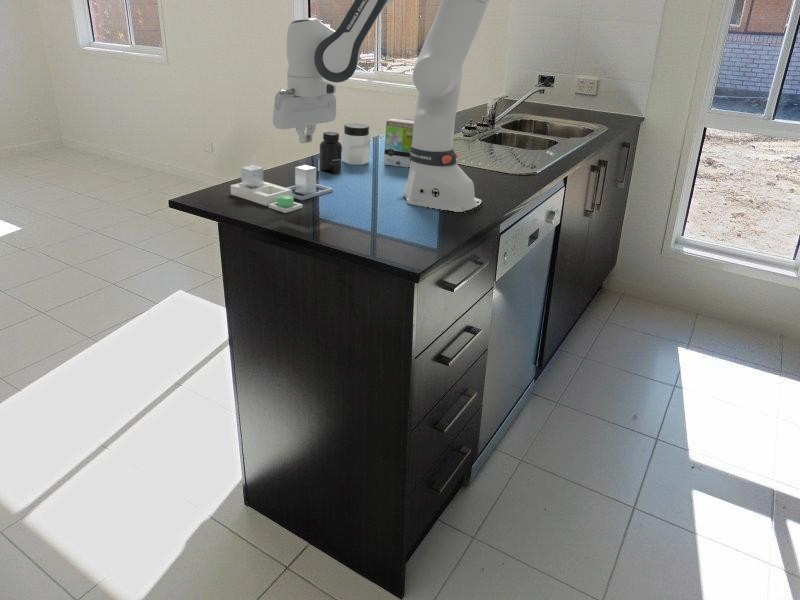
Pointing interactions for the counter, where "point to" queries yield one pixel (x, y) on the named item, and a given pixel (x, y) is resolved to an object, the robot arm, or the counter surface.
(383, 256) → the counter surface
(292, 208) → the button housing
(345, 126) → the jar
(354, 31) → the robot arm
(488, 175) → the counter surface
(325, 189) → the tote
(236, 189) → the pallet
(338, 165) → the supplement bottle
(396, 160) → the tea box
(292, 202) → the button
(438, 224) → the counter surface
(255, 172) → the block
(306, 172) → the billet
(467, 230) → the counter surface
